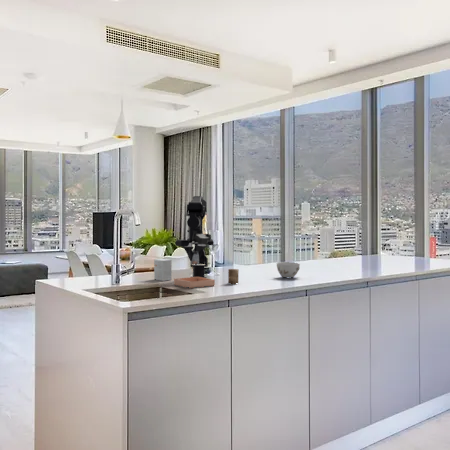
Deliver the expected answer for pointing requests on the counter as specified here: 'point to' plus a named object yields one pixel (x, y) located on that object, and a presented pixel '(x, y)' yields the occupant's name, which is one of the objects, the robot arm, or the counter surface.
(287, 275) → the teacup
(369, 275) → the counter surface
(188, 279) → the shallow square tray
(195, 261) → the steel peg
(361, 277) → the counter surface
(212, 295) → the counter surface
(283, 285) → the counter surface
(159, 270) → the small box
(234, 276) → the walnut knob
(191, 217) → the robot arm
